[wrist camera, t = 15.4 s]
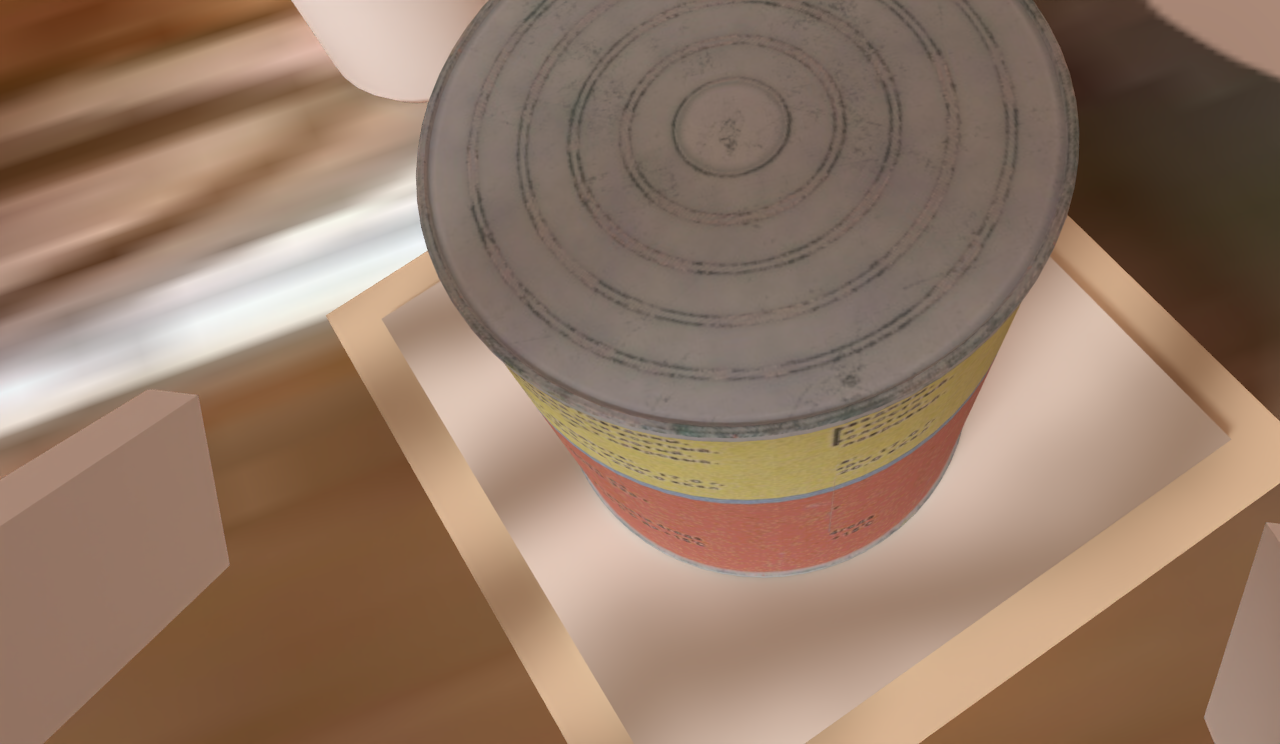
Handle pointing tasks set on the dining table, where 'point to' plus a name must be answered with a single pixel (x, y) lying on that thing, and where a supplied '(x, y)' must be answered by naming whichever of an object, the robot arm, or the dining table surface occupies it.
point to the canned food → (750, 246)
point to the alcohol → (389, 41)
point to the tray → (860, 587)
